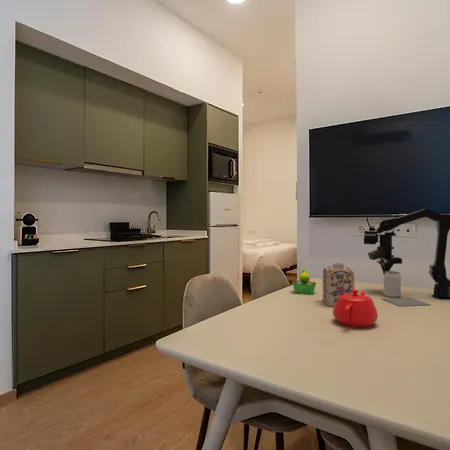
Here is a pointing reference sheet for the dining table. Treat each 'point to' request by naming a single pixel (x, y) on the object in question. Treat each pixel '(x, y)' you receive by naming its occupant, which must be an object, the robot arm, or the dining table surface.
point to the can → (392, 284)
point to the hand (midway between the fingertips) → (385, 275)
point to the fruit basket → (304, 284)
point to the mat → (405, 302)
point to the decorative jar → (337, 282)
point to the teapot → (355, 309)
